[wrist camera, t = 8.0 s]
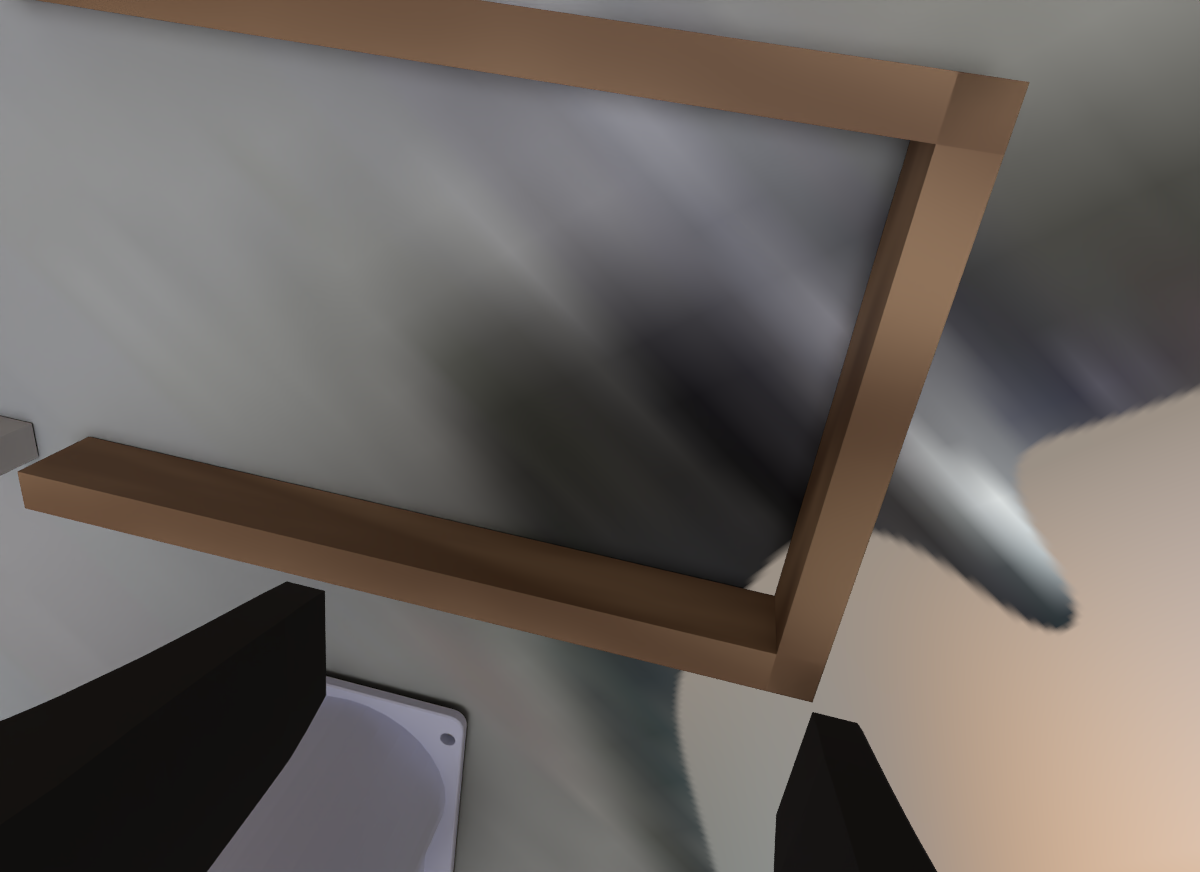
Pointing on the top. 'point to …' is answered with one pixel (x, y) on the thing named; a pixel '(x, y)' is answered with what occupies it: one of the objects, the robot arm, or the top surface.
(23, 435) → the grey corral
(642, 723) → the top surface
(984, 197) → the brown u-shaped frame
